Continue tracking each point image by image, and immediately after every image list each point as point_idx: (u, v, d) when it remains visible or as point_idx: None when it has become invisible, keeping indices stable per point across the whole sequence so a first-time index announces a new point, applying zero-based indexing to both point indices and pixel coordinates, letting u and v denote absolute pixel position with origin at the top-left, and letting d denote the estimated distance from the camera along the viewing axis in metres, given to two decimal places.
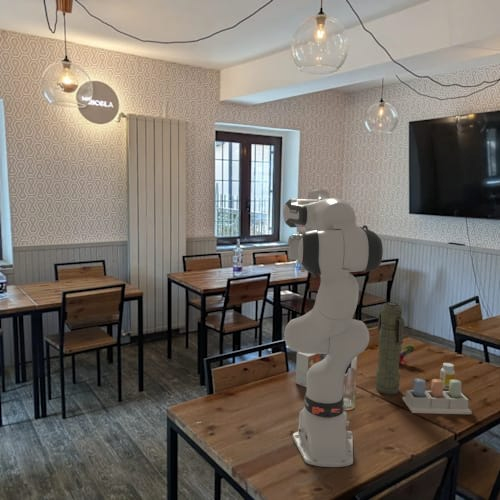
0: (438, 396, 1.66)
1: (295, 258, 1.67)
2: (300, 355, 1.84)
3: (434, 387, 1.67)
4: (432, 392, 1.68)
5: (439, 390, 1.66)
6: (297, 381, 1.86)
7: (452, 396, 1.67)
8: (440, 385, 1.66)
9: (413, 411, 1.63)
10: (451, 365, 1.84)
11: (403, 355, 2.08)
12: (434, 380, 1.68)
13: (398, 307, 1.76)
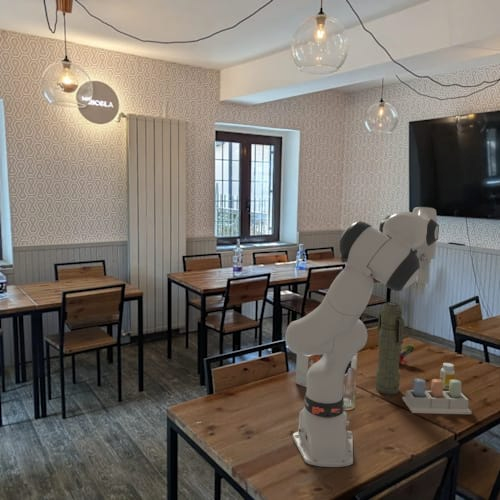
0: (438, 396, 1.66)
1: None
2: (300, 355, 1.84)
3: (434, 387, 1.67)
4: (432, 392, 1.68)
5: (439, 390, 1.66)
6: (297, 381, 1.86)
7: (452, 396, 1.67)
8: (440, 385, 1.66)
9: (413, 411, 1.63)
10: (451, 365, 1.84)
11: (403, 355, 2.08)
12: (434, 380, 1.68)
13: (398, 307, 1.76)
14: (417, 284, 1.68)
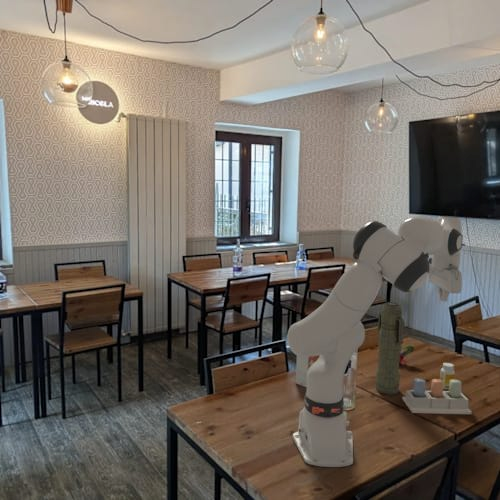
0: (438, 396, 1.66)
1: None
2: None
3: (434, 387, 1.67)
4: (432, 392, 1.68)
5: (439, 390, 1.66)
6: (297, 381, 1.86)
7: (452, 396, 1.67)
8: (440, 385, 1.66)
9: (413, 411, 1.63)
10: (451, 365, 1.84)
11: (403, 355, 2.08)
12: (434, 380, 1.68)
13: (398, 307, 1.76)
14: None
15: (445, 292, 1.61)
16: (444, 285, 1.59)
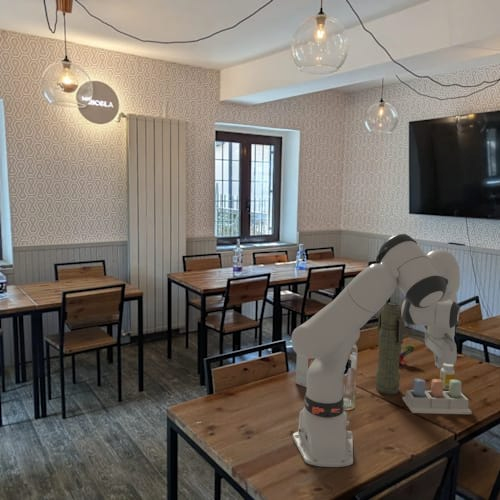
0: (438, 396, 1.66)
1: None
2: None
3: (434, 387, 1.67)
4: (432, 392, 1.68)
5: (439, 390, 1.66)
6: (297, 381, 1.86)
7: (452, 396, 1.67)
8: (440, 385, 1.66)
9: (413, 411, 1.63)
10: (451, 365, 1.84)
11: (403, 355, 2.08)
12: (434, 380, 1.68)
13: (398, 307, 1.76)
14: None
15: (440, 360, 1.64)
16: (439, 354, 1.62)
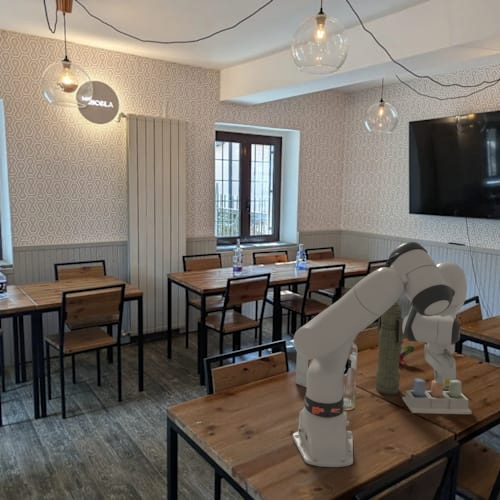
0: (438, 397, 1.66)
1: None
2: None
3: (433, 388, 1.67)
4: (432, 393, 1.68)
5: (439, 391, 1.66)
6: (297, 381, 1.86)
7: (452, 396, 1.67)
8: (440, 386, 1.66)
9: (413, 411, 1.63)
10: None
11: (403, 355, 2.08)
12: (434, 381, 1.68)
13: (398, 307, 1.76)
14: None
15: (440, 375, 1.65)
16: (439, 370, 1.62)
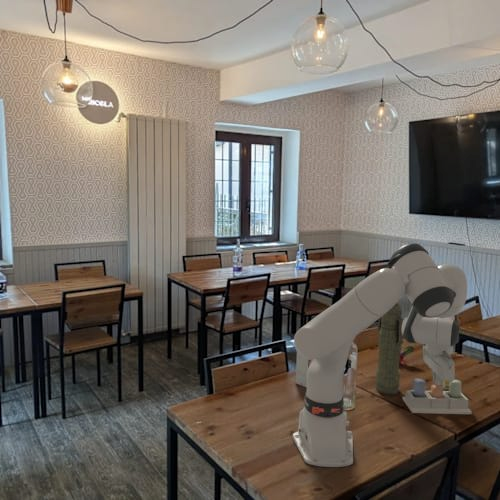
0: None
1: None
2: None
3: (433, 392, 1.67)
4: (432, 397, 1.68)
5: (439, 395, 1.66)
6: (297, 381, 1.86)
7: (452, 396, 1.67)
8: (439, 390, 1.66)
9: (413, 411, 1.63)
10: None
11: (403, 355, 2.08)
12: (434, 386, 1.68)
13: (398, 307, 1.76)
14: (436, 379, 1.68)
15: (438, 377, 1.65)
16: (437, 371, 1.63)
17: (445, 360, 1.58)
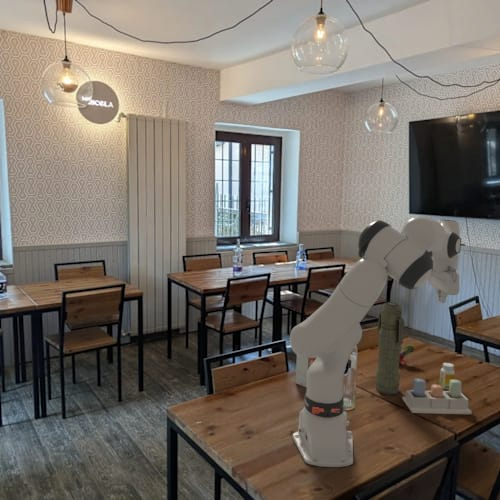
0: None
1: None
2: None
3: (433, 392, 1.67)
4: (432, 397, 1.68)
5: (439, 395, 1.66)
6: (297, 381, 1.86)
7: (452, 396, 1.67)
8: (439, 390, 1.66)
9: (413, 411, 1.63)
10: (451, 365, 1.84)
11: (403, 355, 2.08)
12: (434, 386, 1.68)
13: (398, 307, 1.76)
14: None
15: (443, 294, 1.66)
16: (442, 287, 1.63)
17: (450, 273, 1.59)
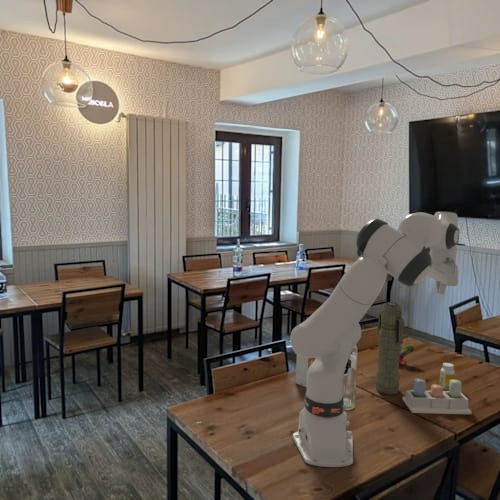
0: None
1: None
2: None
3: (433, 392, 1.67)
4: (432, 397, 1.68)
5: (439, 395, 1.66)
6: (297, 381, 1.86)
7: (452, 396, 1.67)
8: (439, 390, 1.66)
9: (413, 411, 1.63)
10: (451, 365, 1.84)
11: (403, 355, 2.08)
12: (434, 386, 1.68)
13: (398, 307, 1.76)
14: None
15: (442, 285, 1.66)
16: (441, 278, 1.64)
17: (449, 265, 1.60)
